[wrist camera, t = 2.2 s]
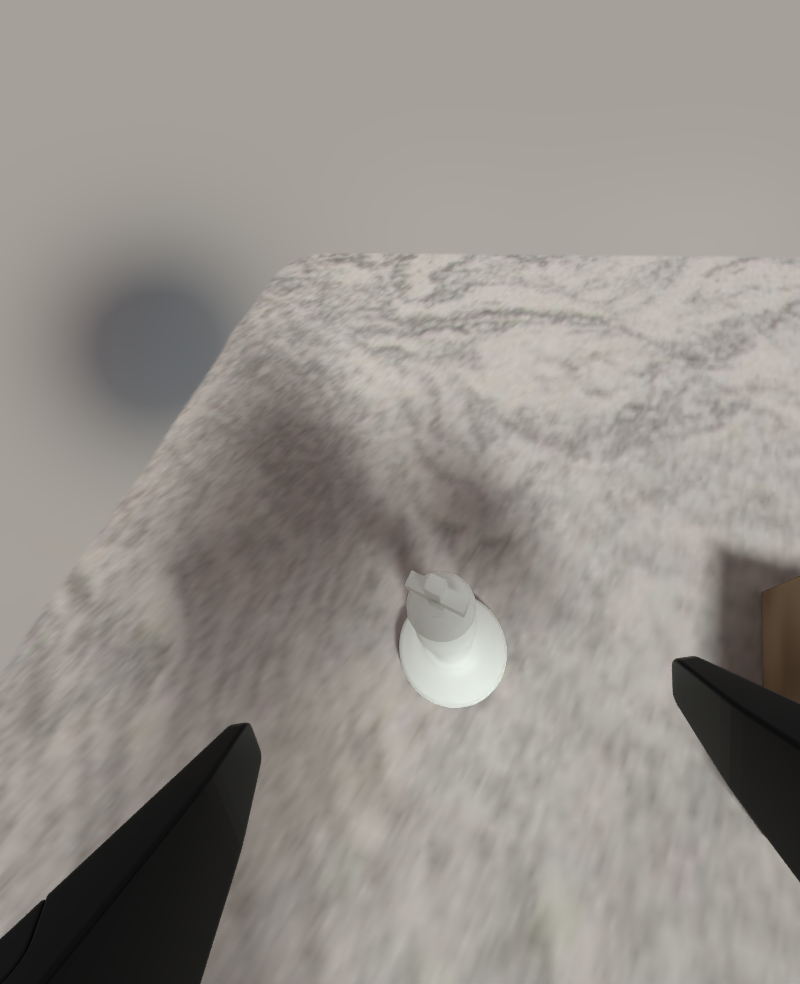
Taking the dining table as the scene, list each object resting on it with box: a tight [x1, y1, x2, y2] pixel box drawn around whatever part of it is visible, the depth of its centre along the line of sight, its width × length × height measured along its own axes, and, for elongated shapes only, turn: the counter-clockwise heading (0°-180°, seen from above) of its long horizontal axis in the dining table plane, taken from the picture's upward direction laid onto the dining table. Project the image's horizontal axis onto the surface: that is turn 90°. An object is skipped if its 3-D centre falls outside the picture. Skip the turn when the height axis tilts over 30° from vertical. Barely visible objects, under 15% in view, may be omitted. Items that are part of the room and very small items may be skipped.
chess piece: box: [399, 571, 507, 708], centre depth 14 cm, size 5×5×10 cm
